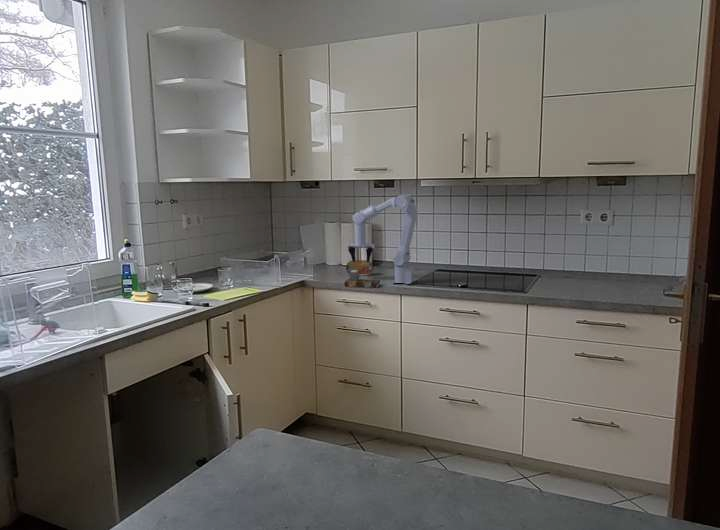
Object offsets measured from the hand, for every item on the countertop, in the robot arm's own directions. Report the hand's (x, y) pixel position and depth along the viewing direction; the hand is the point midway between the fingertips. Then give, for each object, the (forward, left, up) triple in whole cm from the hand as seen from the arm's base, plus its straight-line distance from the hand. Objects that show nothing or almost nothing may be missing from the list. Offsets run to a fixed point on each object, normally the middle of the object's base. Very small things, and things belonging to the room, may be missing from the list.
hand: (360, 261), depth 268 cm
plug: (0, +12, -10) cm, 15 cm away
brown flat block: (-4, +12, -10) cm, 16 cm away
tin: (+5, -14, -10) cm, 18 cm away
